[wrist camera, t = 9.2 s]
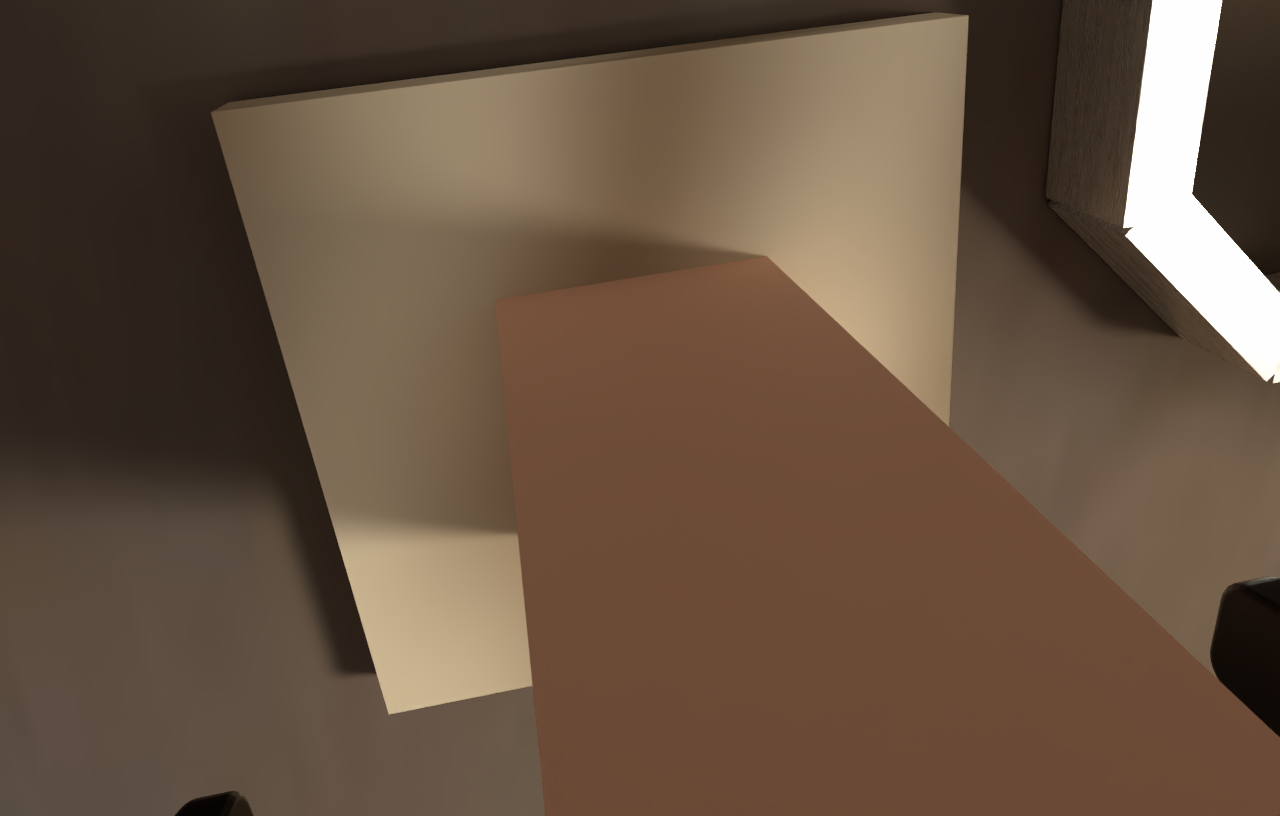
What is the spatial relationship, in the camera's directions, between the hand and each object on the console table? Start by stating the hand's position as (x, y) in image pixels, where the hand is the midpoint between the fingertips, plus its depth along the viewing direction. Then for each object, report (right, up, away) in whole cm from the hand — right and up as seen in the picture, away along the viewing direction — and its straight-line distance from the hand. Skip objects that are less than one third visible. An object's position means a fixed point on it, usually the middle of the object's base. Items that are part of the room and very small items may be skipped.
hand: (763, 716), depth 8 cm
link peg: (-1, +3, +6) cm, 7 cm away
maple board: (-1, +3, +7) cm, 8 cm away
